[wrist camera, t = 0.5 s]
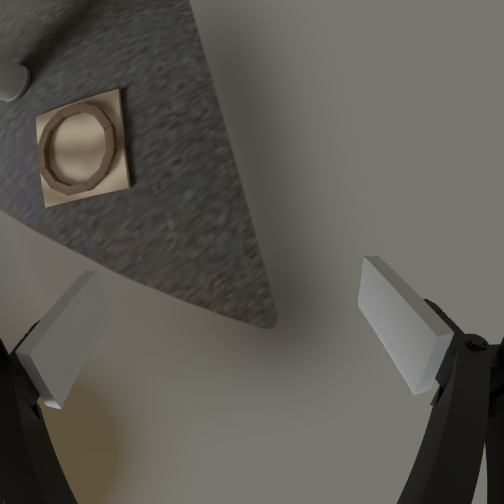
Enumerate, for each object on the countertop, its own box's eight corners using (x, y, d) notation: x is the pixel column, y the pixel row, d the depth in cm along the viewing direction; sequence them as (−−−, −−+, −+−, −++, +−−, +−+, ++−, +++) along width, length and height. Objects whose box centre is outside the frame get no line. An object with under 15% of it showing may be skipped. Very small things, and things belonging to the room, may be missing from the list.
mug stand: (39, 117, 32) (31, 115, 30) (120, 90, 34) (115, 86, 31) (48, 206, 36) (40, 209, 34) (130, 187, 37) (125, 188, 35)
